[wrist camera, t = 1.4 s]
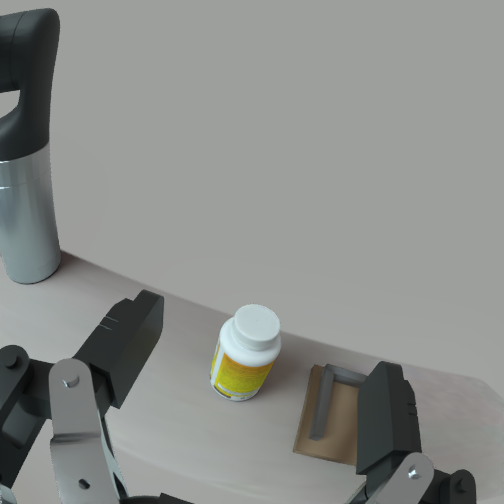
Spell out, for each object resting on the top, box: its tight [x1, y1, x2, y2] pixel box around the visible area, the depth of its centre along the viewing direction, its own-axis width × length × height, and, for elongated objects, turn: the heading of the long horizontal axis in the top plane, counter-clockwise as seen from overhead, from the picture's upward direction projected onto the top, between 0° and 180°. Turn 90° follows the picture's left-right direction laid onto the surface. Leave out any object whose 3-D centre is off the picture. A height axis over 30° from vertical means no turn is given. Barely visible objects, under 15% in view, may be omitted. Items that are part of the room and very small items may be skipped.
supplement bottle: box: [210, 304, 281, 401], centre depth 28 cm, size 6×6×10 cm
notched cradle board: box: [293, 364, 368, 466], centre depth 28 cm, size 12×11×2 cm
